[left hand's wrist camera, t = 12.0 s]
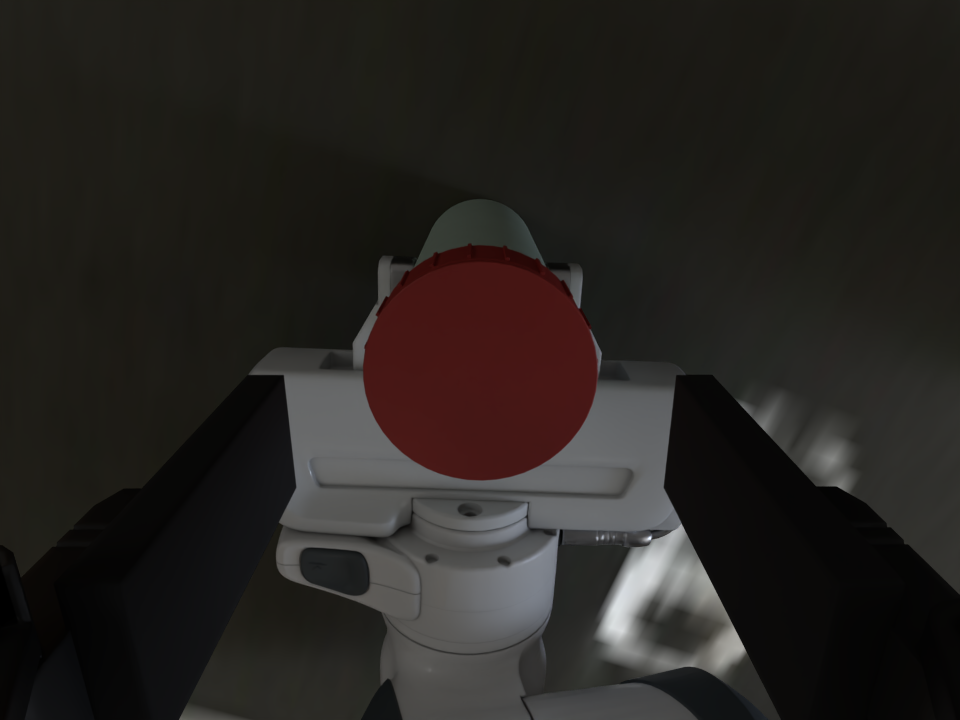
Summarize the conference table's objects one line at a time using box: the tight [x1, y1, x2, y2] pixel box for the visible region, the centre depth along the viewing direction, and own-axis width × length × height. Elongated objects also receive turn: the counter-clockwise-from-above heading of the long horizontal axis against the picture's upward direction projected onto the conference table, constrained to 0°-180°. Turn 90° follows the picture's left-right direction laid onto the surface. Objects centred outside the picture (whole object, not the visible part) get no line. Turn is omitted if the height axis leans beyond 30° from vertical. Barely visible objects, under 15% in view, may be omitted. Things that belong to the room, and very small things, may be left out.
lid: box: [363, 243, 598, 481], centre depth 18 cm, size 6×6×2 cm
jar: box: [414, 199, 546, 267], centre depth 25 cm, size 6×6×17 cm
